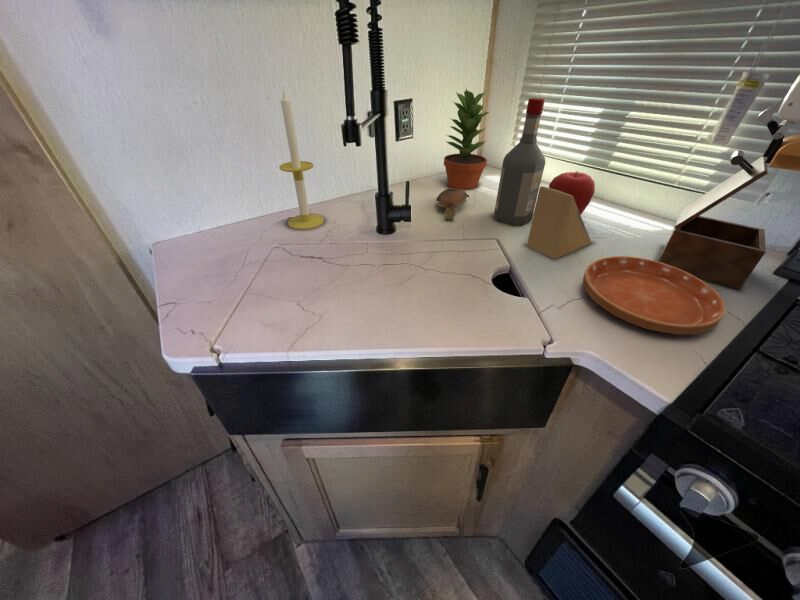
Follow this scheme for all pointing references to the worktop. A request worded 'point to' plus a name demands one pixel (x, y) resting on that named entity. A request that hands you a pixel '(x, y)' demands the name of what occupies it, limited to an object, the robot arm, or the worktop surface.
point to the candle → (297, 173)
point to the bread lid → (724, 188)
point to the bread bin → (715, 250)
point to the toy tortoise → (451, 201)
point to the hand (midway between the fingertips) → (785, 163)
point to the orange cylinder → (788, 154)
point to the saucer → (653, 295)
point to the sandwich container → (556, 224)
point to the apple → (575, 187)
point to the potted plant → (466, 145)
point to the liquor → (521, 172)
